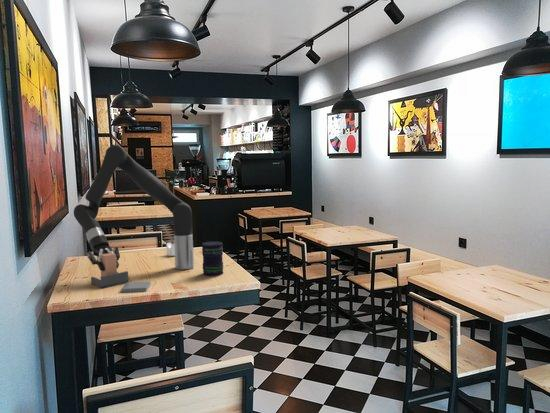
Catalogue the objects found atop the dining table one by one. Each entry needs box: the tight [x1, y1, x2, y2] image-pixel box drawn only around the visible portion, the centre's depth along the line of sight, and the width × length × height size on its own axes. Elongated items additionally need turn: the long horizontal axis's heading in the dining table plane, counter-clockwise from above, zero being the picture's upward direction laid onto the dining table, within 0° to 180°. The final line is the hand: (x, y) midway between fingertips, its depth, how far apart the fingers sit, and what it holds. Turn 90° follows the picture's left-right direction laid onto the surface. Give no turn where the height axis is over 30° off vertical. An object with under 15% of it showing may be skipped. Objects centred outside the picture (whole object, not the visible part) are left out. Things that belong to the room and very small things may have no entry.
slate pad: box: [120, 280, 151, 293], centre depth 174 cm, size 10×10×2 cm
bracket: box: [165, 242, 175, 257], centre depth 243 cm, size 13×7×8 cm, turn 131°
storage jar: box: [201, 240, 224, 277], centre depth 196 cm, size 10×10×15 cm
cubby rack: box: [90, 271, 129, 289], centre depth 183 cm, size 11×12×5 cm
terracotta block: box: [100, 252, 118, 277], centre depth 183 cm, size 5×5×12 cm
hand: (110, 268), depth 182 cm, fingers open, 5 cm apart
